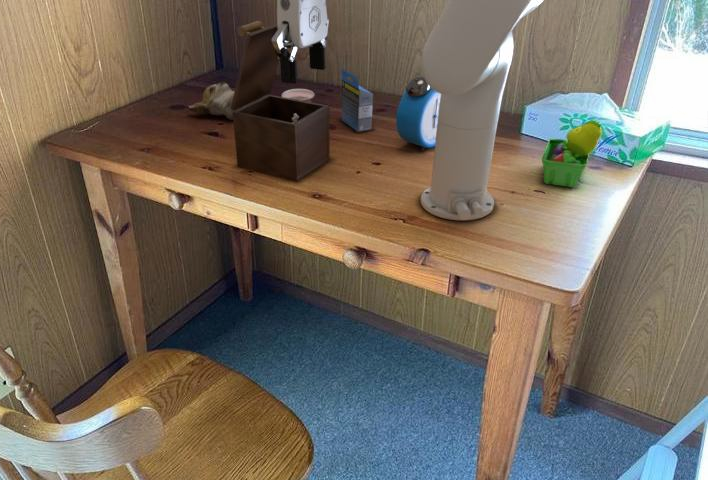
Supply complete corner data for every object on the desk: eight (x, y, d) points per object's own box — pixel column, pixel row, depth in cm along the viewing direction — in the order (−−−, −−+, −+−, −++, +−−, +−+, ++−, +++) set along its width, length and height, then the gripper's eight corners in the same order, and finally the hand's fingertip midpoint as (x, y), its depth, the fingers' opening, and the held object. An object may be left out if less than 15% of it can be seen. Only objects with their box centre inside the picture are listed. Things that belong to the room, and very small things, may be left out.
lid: (290, 21, 116) (268, 8, 117) (251, 35, 108) (228, 21, 109) (270, 93, 127) (251, 80, 128) (233, 110, 118) (213, 97, 120)
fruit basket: (544, 161, 122) (555, 106, 116) (591, 168, 119) (606, 111, 112) (535, 185, 114) (548, 126, 107) (587, 193, 111) (602, 133, 104)
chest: (329, 159, 126) (329, 105, 120) (297, 181, 118) (294, 125, 112) (272, 146, 133) (269, 94, 127) (237, 166, 125) (232, 112, 119)
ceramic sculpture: (224, 89, 138) (179, 83, 147) (229, 126, 143) (185, 118, 151) (255, 78, 145) (210, 72, 154) (259, 114, 150) (215, 106, 158)
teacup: (273, 113, 151) (271, 88, 147) (321, 110, 151) (321, 85, 148) (276, 130, 141) (274, 104, 137) (327, 127, 141) (327, 101, 138)
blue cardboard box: (372, 130, 139) (374, 75, 132) (357, 132, 138) (358, 77, 131) (355, 117, 146) (356, 65, 139) (340, 120, 145) (340, 67, 138)
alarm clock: (416, 157, 126) (422, 84, 118) (392, 149, 130) (396, 77, 121) (453, 139, 133) (461, 69, 125) (430, 132, 137) (436, 63, 129)
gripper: (289, -17, 97) (295, 90, 107) (343, -33, 109) (344, 66, 118) (251, -19, 101) (260, 86, 110) (307, -34, 112) (311, 62, 122)
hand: (304, 75), depth 114 cm, fingers open, 9 cm apart
